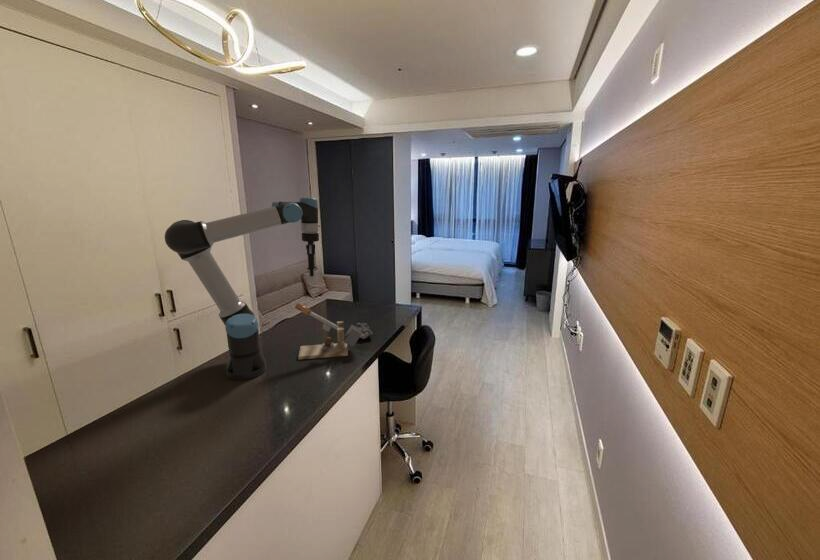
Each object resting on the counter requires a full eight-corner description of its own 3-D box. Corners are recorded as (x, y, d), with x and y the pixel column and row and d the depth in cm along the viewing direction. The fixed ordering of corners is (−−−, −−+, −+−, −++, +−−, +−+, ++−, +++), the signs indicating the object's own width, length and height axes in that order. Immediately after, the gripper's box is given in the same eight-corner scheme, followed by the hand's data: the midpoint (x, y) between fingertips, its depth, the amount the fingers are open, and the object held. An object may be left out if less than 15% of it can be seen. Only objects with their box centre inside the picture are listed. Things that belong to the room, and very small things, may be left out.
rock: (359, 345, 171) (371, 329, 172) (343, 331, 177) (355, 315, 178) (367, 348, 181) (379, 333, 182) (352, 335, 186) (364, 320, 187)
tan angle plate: (298, 359, 154) (296, 332, 151) (300, 348, 164) (299, 323, 161) (348, 355, 158) (347, 329, 155) (347, 345, 169) (346, 320, 166)
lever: (290, 314, 151) (299, 300, 150) (292, 309, 156) (301, 296, 156) (352, 347, 160) (361, 334, 160) (352, 341, 166) (360, 329, 165)
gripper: (318, 234, 151) (320, 285, 156) (318, 230, 163) (320, 278, 169) (300, 233, 149) (303, 286, 155) (302, 230, 161) (304, 279, 167)
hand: (312, 282), depth 162 cm, fingers closed
